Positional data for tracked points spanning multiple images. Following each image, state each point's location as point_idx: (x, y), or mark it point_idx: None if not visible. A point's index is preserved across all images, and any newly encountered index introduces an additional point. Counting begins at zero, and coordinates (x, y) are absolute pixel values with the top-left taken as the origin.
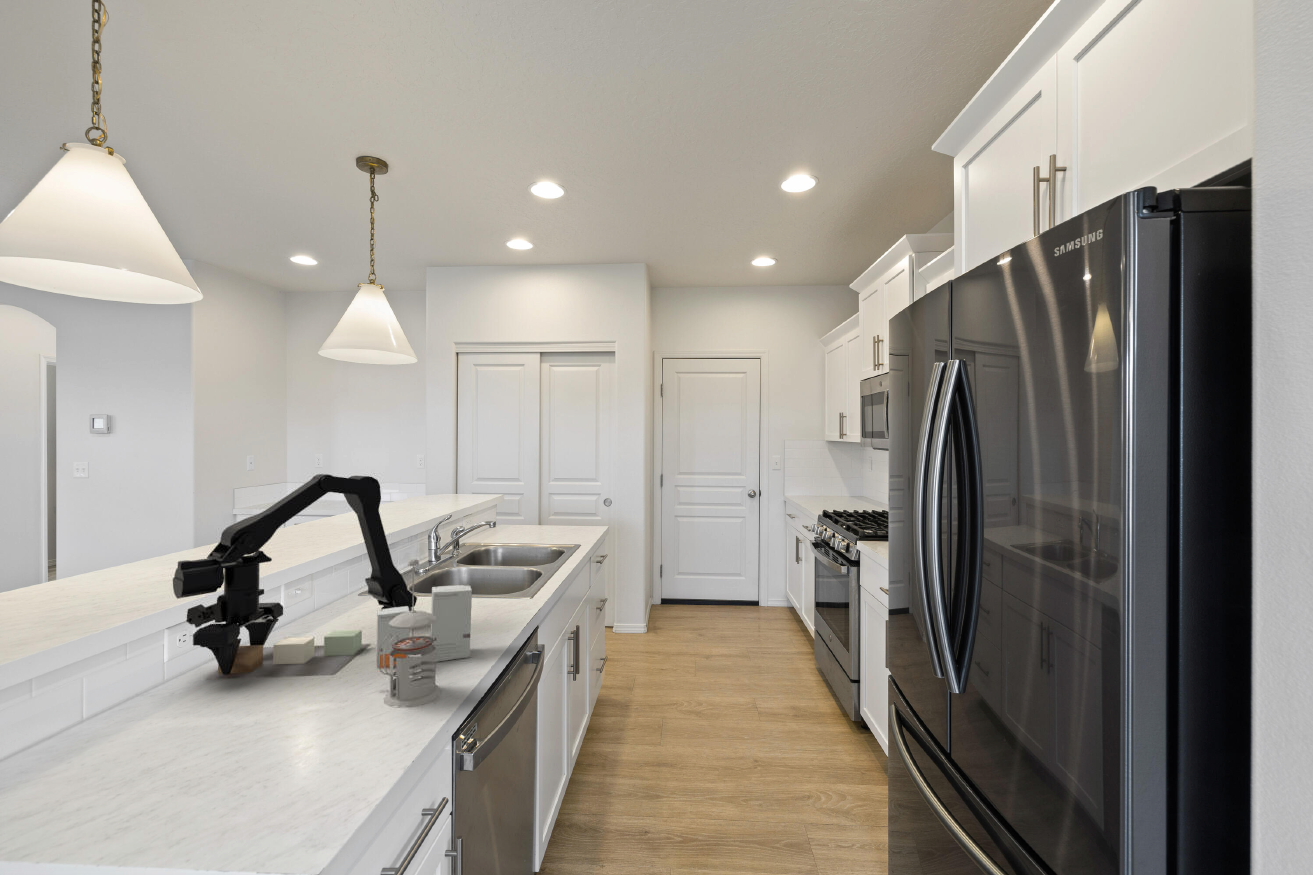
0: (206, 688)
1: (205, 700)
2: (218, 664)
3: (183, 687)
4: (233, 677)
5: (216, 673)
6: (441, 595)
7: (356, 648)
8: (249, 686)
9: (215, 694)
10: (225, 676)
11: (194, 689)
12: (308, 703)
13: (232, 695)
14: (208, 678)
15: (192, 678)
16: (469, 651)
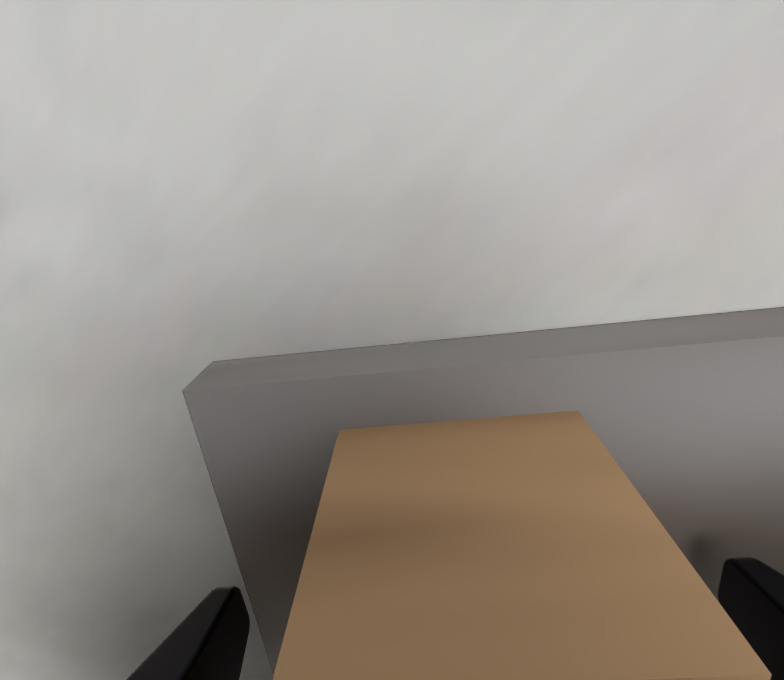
0: (168, 431)
1: (2, 567)
2: (323, 504)
3: (133, 190)
4: (268, 610)
5: (347, 404)
6: None
7: None
8: (258, 669)
9: (97, 564)
10: (280, 539)
11: (124, 346)
12: None
13: (117, 659)
14: (211, 424)
15: (372, 61)
16: None
